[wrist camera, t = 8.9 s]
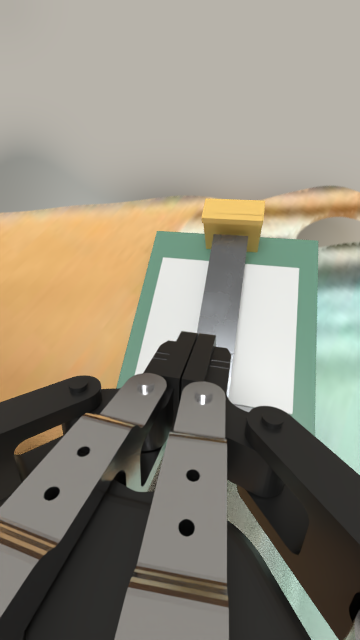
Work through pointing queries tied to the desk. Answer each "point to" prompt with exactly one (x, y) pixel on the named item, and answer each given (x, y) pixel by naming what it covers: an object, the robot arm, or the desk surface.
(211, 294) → the gray flat bar
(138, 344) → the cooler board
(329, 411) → the desk surface
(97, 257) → the desk surface
